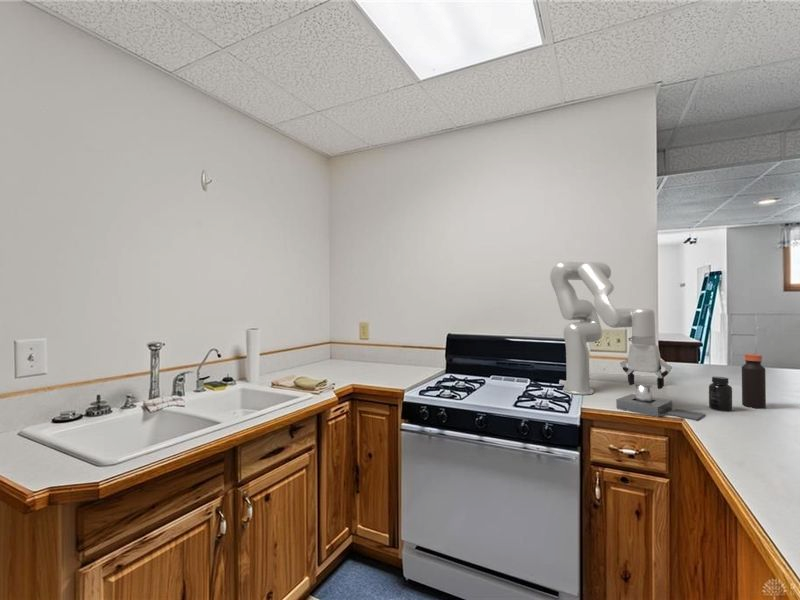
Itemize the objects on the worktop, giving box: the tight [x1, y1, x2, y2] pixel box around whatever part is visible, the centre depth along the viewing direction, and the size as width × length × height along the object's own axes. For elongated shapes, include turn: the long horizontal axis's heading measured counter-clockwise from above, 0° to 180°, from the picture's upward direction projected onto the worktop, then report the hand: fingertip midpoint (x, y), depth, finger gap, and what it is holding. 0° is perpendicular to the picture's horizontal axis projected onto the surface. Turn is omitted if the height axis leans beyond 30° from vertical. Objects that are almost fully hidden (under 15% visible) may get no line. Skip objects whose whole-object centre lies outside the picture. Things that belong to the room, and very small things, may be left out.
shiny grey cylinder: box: [635, 383, 653, 403], centre depth 147 cm, size 5×5×9 cm
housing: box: [615, 393, 673, 418], centre depth 147 cm, size 14×14×4 cm
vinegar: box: [741, 353, 767, 409], centre depth 149 cm, size 7×7×20 cm
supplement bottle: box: [708, 376, 733, 412], centre depth 146 cm, size 7×7×12 cm
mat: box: [666, 408, 706, 422], centre depth 139 cm, size 9×9×1 cm
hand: (645, 386), depth 146 cm, fingers open, 9 cm apart
